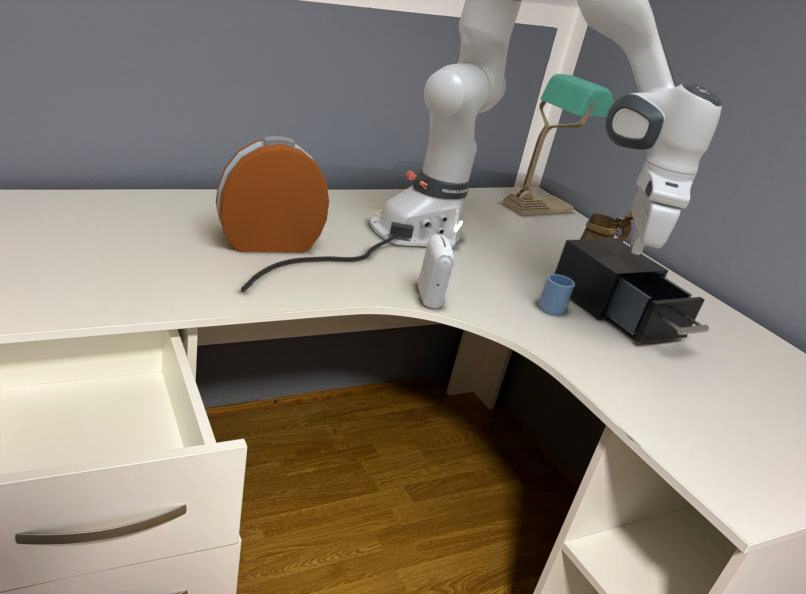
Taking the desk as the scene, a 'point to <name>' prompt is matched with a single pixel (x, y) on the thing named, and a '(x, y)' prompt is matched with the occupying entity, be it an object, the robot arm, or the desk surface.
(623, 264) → the black box
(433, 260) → the photo printer
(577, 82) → the banker's lamp
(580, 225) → the desk surface
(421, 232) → the robot arm
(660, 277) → the drawer
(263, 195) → the alarm clock
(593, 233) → the wooden mug
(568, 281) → the cup
